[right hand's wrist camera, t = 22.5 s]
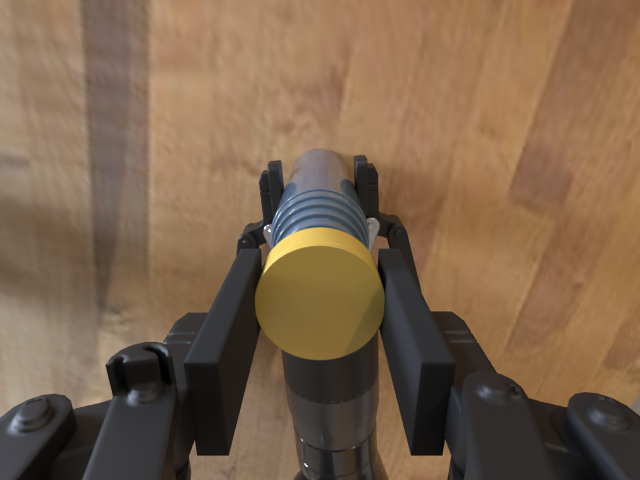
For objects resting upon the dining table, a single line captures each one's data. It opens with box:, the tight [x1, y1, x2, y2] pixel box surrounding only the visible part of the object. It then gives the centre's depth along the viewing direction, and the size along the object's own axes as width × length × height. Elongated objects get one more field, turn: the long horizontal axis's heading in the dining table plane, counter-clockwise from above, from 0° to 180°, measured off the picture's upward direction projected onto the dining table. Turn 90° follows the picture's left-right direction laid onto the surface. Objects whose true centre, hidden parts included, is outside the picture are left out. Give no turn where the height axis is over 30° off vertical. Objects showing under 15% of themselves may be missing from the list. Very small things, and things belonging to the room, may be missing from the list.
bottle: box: [271, 149, 369, 249], centre depth 23 cm, size 5×5×20 cm
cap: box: [255, 227, 385, 360], centre depth 14 cm, size 4×4×2 cm
